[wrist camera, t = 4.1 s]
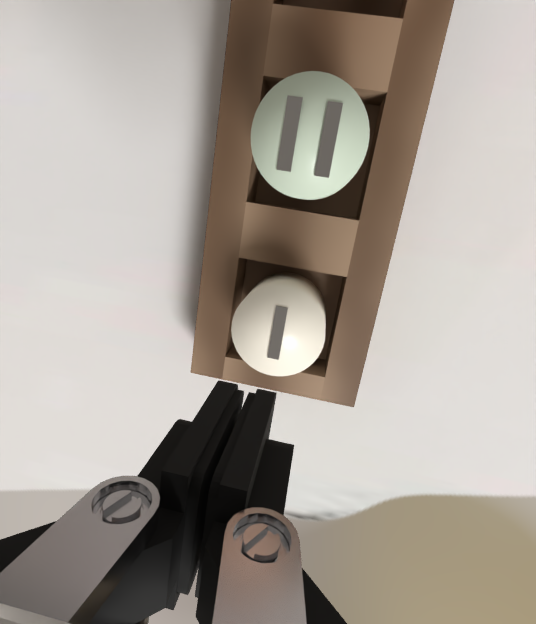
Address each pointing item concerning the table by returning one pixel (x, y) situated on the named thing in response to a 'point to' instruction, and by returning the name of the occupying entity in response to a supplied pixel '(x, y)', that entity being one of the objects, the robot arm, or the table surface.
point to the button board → (322, 212)
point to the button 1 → (280, 325)
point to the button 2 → (310, 135)
